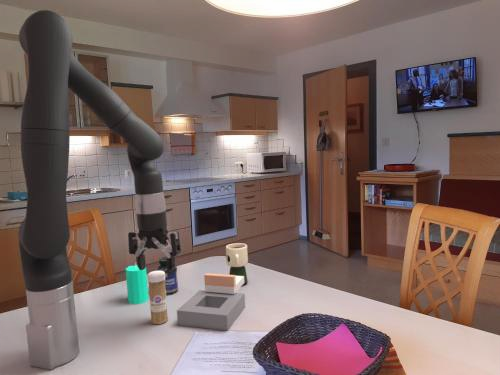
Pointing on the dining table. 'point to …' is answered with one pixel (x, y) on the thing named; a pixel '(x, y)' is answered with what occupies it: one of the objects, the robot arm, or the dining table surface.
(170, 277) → the pill bottle
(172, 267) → the robot arm
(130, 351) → the dining table surface
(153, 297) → the sprinkles bottle
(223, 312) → the socket block
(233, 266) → the character mug
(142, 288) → the candle
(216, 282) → the panel
